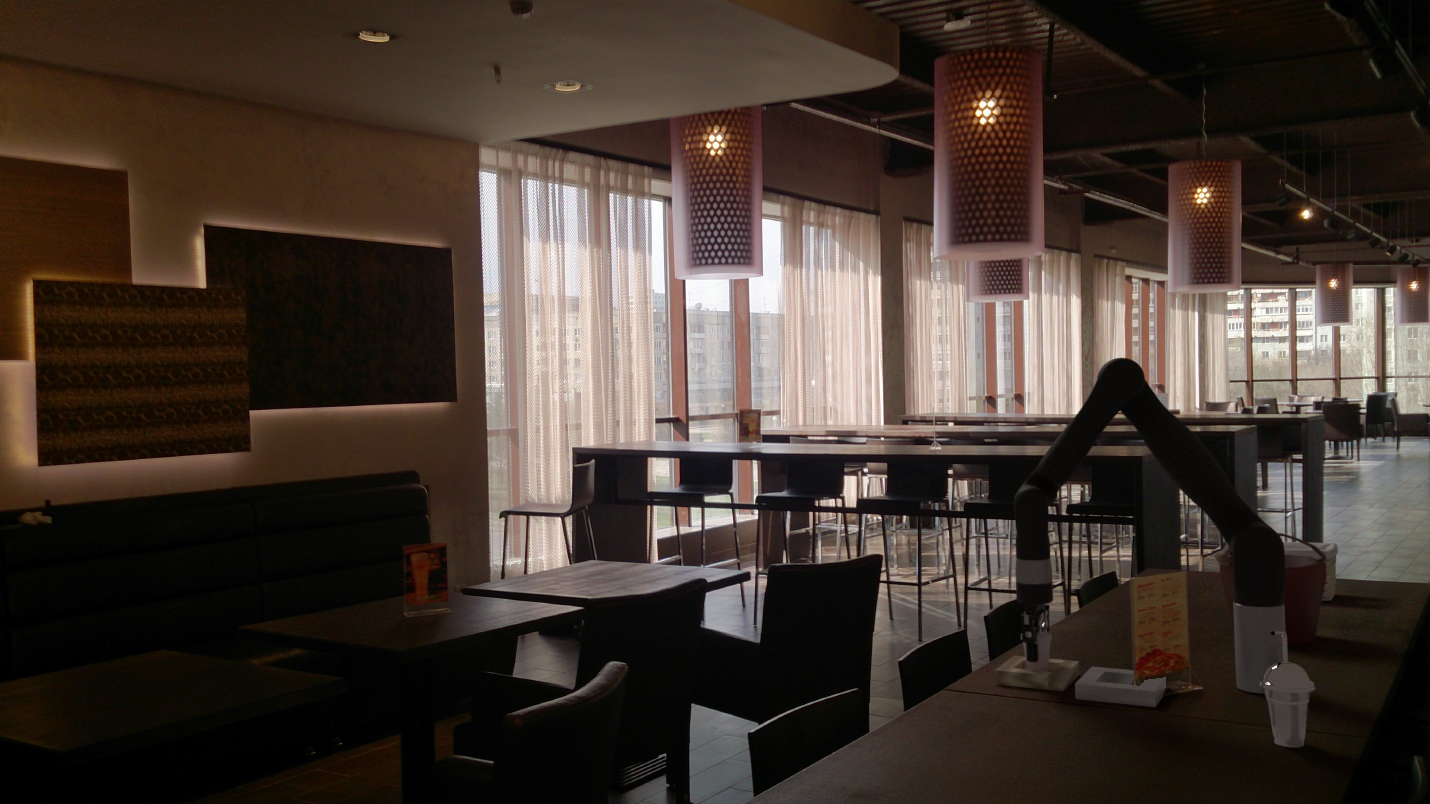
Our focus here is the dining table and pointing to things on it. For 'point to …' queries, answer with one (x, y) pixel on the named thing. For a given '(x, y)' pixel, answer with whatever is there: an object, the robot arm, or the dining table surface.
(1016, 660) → the socket block
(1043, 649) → the smoothie
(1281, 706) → the cup with straw
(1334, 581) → the storage basket
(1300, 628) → the bucket
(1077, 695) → the ring
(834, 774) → the dining table surface
